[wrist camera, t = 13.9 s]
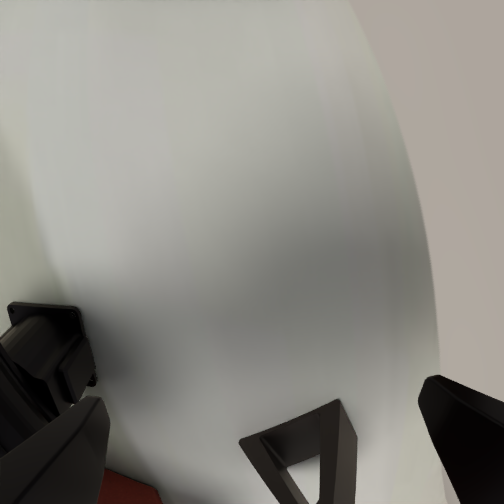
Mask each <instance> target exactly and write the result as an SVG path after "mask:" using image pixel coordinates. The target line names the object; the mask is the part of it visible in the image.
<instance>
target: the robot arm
mask: <svg viewBox="0 0 504 504" xmlns="http://www.w3.org/2000/svg"><path fill="white" fill-rule="evenodd" d="M12 308H13V309H14V310H13V309H12ZM7 310H8V314H9V318H10V321H11V325H12V326H11V327H10V328H9V329H8V330H7V331H6V332H5V333H4V334H3V335H2V336H1V337H0V504H97V500H98V496H99V492H100V487H101V483H102V479H103V474H104V468H105V461H106V453H107V445H108V438H109V431H110V418H109V415H108V413H107V410H106V407H105V404H104V401H103V399H102V398H101V397H97V396H86V397H84V398H83V399H82V400H80V398H81V396H82V394H83V392H84V390H85V388H86V386H90V387H94V386H95V385H96V383H97V381H98V380H97V376H96V373H95V368H96V366H95V363H94V359H93V355H92V351H91V347H90V343H89V339H88V338H87V337H86V334H85V330H84V326H83V321H82V317H81V313H80V311H79V309H78V308H76V307H73V306H57V305H41V304H28V303H15V302H12V303H10V304H9V305H8V307H7ZM71 312H72V313H74V314H75V316H76V317H75V316H73V315H72V313H71ZM90 379H91V380H92V381H91V380H90ZM79 400H80V401H79ZM72 404H75V405H73V406H72V407H71V405H72ZM418 405H419V408H420V410H421V413H422V416H423V418H424V421H425V424H426V426H427V429H428V432H429V435H430V437H431V440H432V443H433V445H434V447H435V449H436V451H437V453H438V456H439V458H440V460H441V462H442V464H443V466H444V468H445V470H446V472H447V475H448V477H449V479H450V481H451V483H452V486H453V488H454V490H455V492H456V494H457V497H458V499H459V501H460V504H504V402H502V401H500V400H497V399H495V398H492V397H490V396H488V395H485V394H483V393H480V392H478V391H476V390H473V389H471V388H468V387H466V386H464V385H462V384H459V383H457V382H455V381H452V380H450V379H448V378H445V377H443V376H441V375H433V376H429V377H427V378H426V379H425V381H424V384H423V387H422V389H421V392H420V394H419V397H418ZM70 407H71V408H70Z"/></svg>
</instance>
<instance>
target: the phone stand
mask: <svg viewBox="0 0 504 504" xmlns="http://www.w3.org/2000/svg"><path fill="white" fill-rule="evenodd" d="M239 445H240V447H241V448H242V450H243V451H244V453H245V454H246V456H247V457H248V459H249V460H250V462H251V463H252V465H253V466H254V468H255V469H256V471H257V472H258V474H259V475H260V477H261V478H262V479H263V481H264V482H265V484H266V485H267V487H268V488H269V489H270V491H271V492H272V494H273V495H274V496H275V498H276V499H277V500H278V502H279V503H280V504H309V503H308V501H307V500H306V498H305V497H304V495H303V494H302V492H301V491H300V489H299V488H298V486H297V485H296V483H295V482H294V480H293V479H292V477H291V476H290V474H289V472H288V471H287V467H288V466H291V465H293V464H296V463H299V462H301V461H304V460H306V459H309V458H311V457H314V456H316V455H319V454H320V493H319V500H318V502H317V503H316V504H355V491H356V471H357V436H356V433H355V431H354V429H353V427H352V425H351V423H350V421H349V419H348V417H347V414H346V412H345V410H344V408H343V406H342V404H341V402H340V400H338V399H336V400H334V401H332V402H330V403H327V404H325V405H323V406H321V407H319V408H317V409H315V410H312V411H310V412H308V413H306V414H303V415H301V416H299V417H296V418H294V419H292V420H290V422H289V423H286V422H285V423H282V424H280V425H277V426H275V427H272V428H269V429H267V430H264V431H262V432H259V433H256V434H253V435H251V436H248V437H245V438H242V439H240V440H239Z"/></svg>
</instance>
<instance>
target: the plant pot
mask: <svg viewBox="0 0 504 504" xmlns="http://www.w3.org/2000/svg"><path fill="white" fill-rule="evenodd" d="M97 504H163V503H162V500H161V498H160V495H159V493H158V491H157V490H156V489H155V488H153V487H150V486H147V485H145V484H142V483H139V482H137V481H134V480H132V479H129V478H127V477H124V476H122V475H119V474H117V473H114V472H112V471H110V470H108V469H105V468H104V474H103V479H102V483H101V487H100V492H99V496H98V500H97Z"/></svg>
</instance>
